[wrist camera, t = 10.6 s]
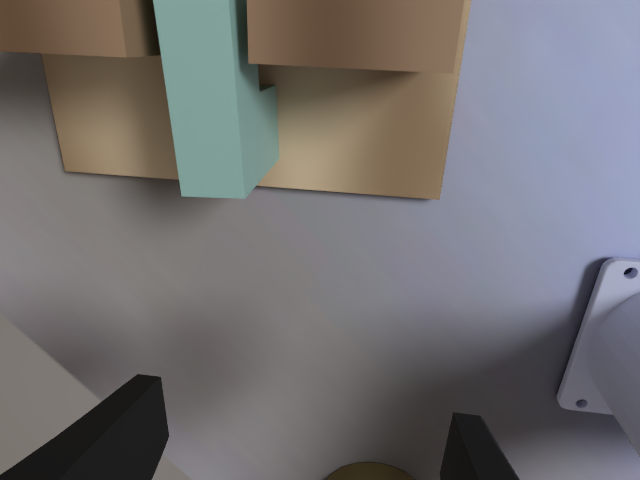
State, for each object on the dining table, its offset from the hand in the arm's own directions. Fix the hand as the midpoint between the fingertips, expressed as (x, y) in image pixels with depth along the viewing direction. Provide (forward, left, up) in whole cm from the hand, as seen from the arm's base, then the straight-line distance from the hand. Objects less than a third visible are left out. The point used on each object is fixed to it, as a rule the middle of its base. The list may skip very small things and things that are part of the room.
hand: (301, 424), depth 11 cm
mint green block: (+4, -9, -9) cm, 13 cm away
